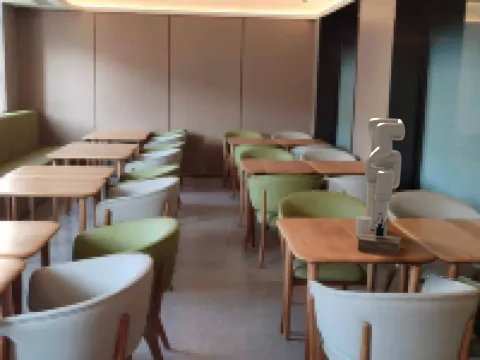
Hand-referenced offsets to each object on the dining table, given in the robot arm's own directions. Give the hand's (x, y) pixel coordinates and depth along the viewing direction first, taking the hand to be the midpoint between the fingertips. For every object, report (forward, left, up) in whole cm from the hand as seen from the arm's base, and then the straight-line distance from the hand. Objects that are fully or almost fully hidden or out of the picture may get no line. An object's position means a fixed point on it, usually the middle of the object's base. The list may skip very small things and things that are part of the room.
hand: (380, 234), depth 274 cm
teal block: (0, 0, -1) cm, 1 cm away
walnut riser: (0, 0, -7) cm, 7 cm away
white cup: (-17, -11, -7) cm, 21 cm away
